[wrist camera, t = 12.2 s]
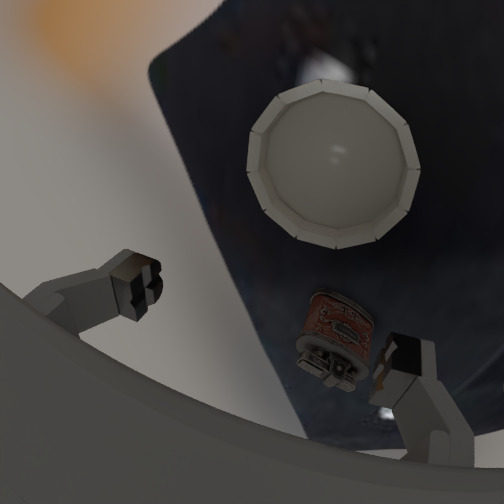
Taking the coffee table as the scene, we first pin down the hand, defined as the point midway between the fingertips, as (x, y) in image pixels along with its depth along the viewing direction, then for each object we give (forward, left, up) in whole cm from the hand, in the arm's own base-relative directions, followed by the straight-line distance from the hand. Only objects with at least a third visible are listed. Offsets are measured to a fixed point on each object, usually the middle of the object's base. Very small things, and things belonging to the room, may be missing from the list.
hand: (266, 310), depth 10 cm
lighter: (-4, +16, -20) cm, 26 cm away
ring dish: (0, 0, -20) cm, 20 cm away
